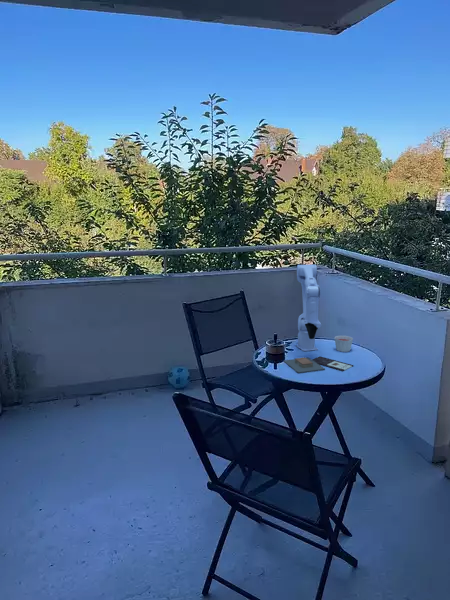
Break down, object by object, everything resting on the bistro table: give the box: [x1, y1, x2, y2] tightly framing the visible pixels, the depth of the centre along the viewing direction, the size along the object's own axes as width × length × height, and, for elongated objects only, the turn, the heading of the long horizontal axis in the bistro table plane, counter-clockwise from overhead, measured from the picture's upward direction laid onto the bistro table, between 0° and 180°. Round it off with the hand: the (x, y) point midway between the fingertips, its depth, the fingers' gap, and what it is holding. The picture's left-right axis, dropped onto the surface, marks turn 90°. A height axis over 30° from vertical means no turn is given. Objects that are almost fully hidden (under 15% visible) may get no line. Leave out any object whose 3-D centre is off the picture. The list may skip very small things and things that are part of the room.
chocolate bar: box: [311, 355, 354, 372], centre depth 193 cm, size 9×1×18 cm
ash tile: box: [294, 357, 313, 368], centre depth 191 cm, size 2×5×8 cm
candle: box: [334, 335, 354, 353], centre depth 212 cm, size 9×9×6 cm
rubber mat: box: [283, 357, 326, 374], centre depth 192 cm, size 16×13×1 cm
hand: (311, 338), depth 199 cm, fingers closed
